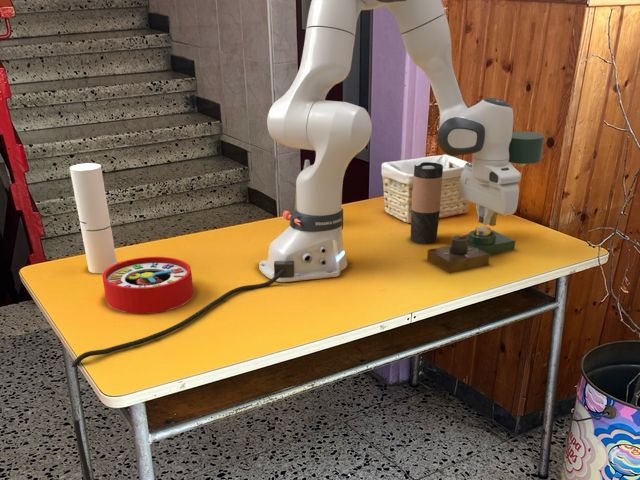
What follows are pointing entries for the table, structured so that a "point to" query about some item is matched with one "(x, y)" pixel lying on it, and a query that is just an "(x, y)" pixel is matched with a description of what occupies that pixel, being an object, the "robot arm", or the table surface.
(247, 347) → the table surface
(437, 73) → the robot arm
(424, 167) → the travel mug
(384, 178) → the basket
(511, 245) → the lamp base
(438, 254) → the dimmer
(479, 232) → the power button
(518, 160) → the desk lamp
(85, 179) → the cylindrical container
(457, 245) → the dimmer knob
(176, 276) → the toy clock
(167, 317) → the table surface
